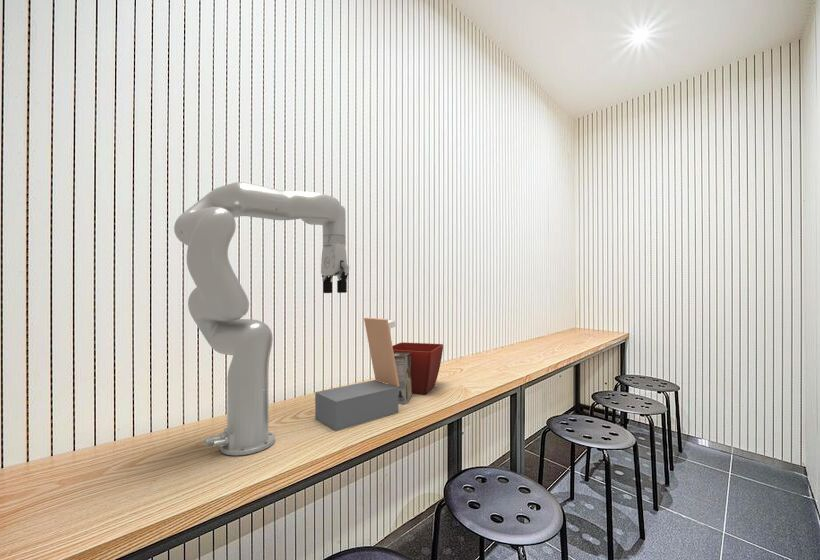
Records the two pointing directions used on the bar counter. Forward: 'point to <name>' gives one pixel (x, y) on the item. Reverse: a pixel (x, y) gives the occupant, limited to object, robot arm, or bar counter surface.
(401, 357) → the coffee box
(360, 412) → the carton
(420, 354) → the plant pot
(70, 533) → the bar counter surface
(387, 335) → the lid
